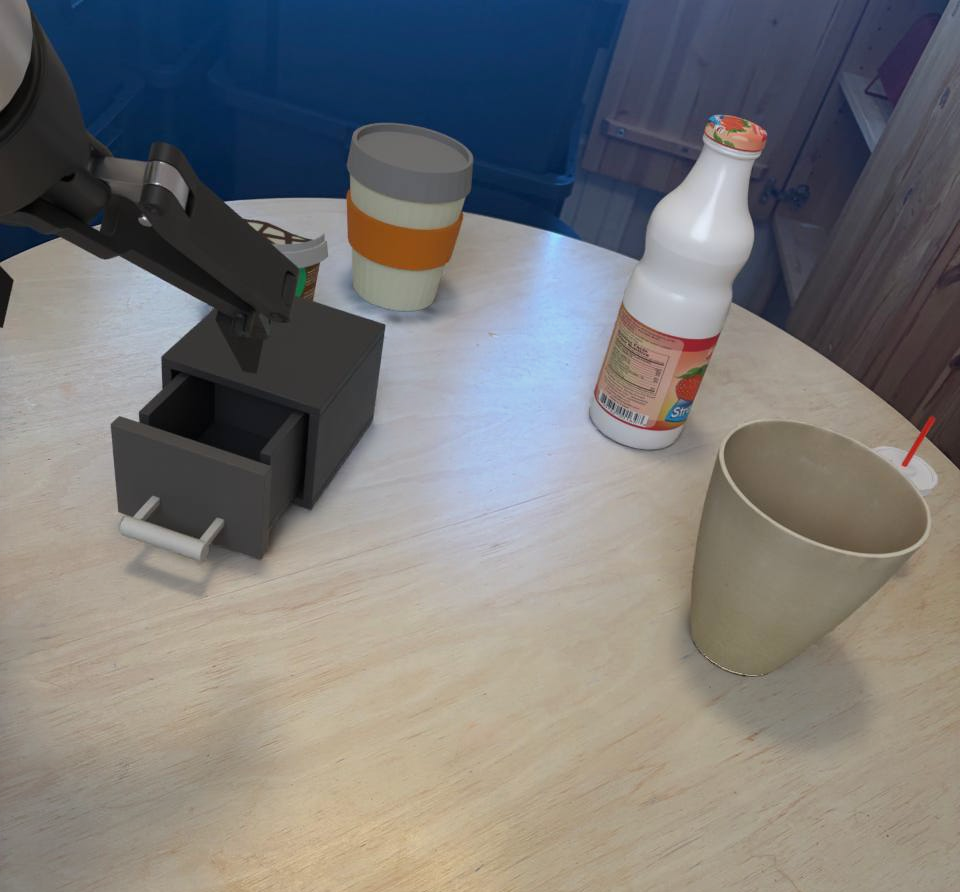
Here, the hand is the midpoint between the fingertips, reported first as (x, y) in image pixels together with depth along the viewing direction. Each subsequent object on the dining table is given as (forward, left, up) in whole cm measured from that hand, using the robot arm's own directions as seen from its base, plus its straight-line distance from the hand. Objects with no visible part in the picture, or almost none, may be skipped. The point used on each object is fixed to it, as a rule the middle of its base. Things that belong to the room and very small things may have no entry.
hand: (128, 326), depth 53 cm
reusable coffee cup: (-14, +53, -22) cm, 59 cm away
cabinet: (-6, +22, -22) cm, 32 cm away
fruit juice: (+17, +49, -22) cm, 56 cm away
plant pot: (+36, +26, -22) cm, 49 cm away
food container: (-19, +35, -22) cm, 46 cm away
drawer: (-4, +12, -21) cm, 24 cm away
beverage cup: (+41, +46, -22) cm, 65 cm away
